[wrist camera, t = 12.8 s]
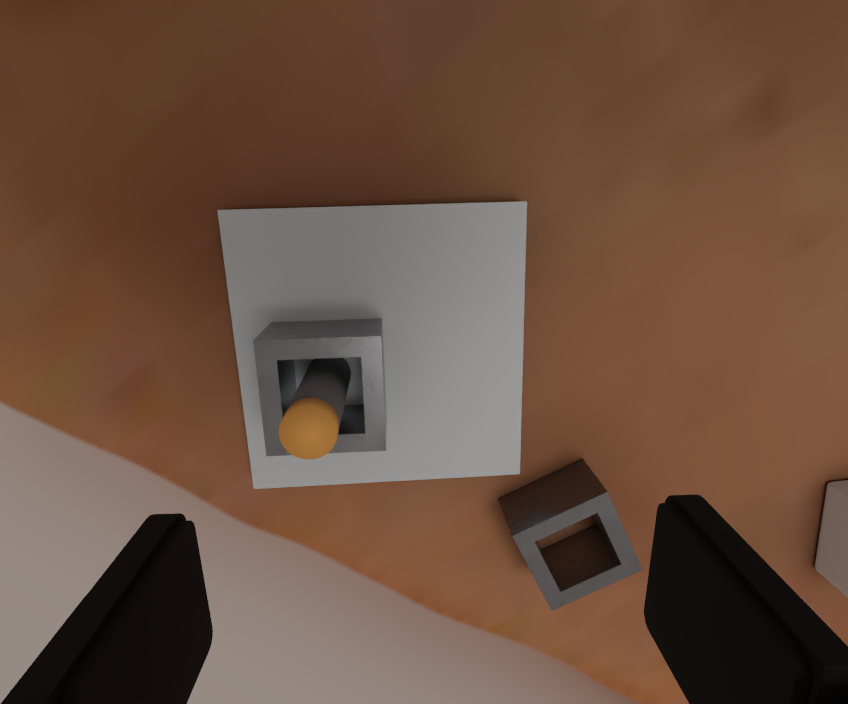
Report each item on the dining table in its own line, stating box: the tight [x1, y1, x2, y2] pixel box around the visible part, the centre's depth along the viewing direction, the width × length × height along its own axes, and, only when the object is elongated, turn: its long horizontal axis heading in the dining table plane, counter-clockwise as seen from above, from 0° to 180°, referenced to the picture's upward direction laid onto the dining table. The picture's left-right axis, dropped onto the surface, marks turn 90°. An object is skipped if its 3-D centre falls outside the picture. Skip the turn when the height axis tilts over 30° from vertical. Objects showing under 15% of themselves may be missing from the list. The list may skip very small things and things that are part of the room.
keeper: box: [217, 201, 527, 489], centre depth 26 cm, size 16×16×10 cm
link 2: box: [498, 459, 642, 611], centre depth 33 cm, size 6×6×4 cm
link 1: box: [253, 318, 387, 456], centre depth 27 cm, size 6×6×4 cm
